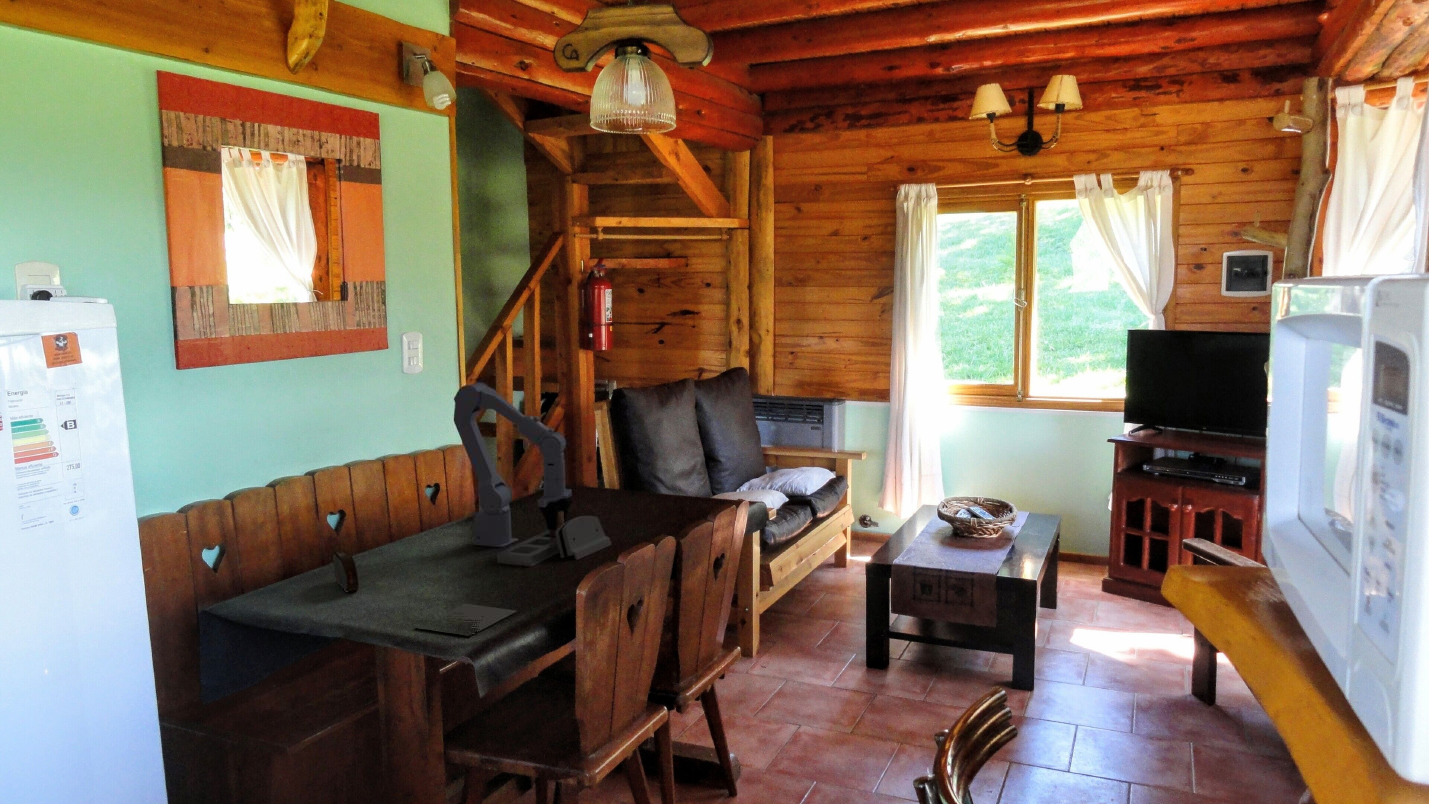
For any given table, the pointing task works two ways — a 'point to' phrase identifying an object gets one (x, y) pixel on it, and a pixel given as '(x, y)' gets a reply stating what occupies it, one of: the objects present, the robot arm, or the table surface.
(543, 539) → the tray
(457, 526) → the table surface
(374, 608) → the table surface
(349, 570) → the tin
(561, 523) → the peg
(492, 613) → the dark grey mat
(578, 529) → the hinge
